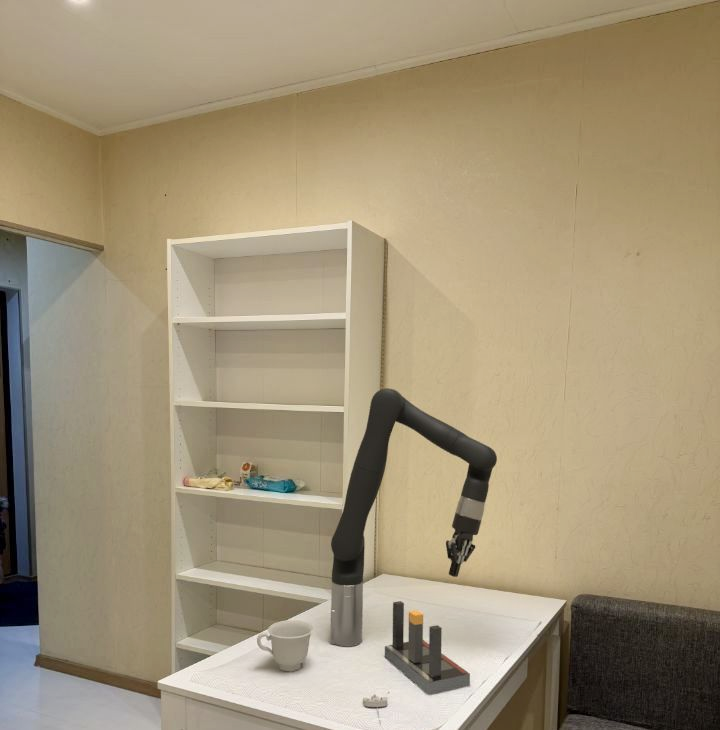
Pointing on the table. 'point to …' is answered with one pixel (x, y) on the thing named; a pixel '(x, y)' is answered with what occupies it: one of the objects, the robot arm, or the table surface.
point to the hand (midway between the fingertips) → (452, 575)
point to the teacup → (288, 643)
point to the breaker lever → (415, 636)
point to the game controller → (375, 702)
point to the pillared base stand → (425, 659)
